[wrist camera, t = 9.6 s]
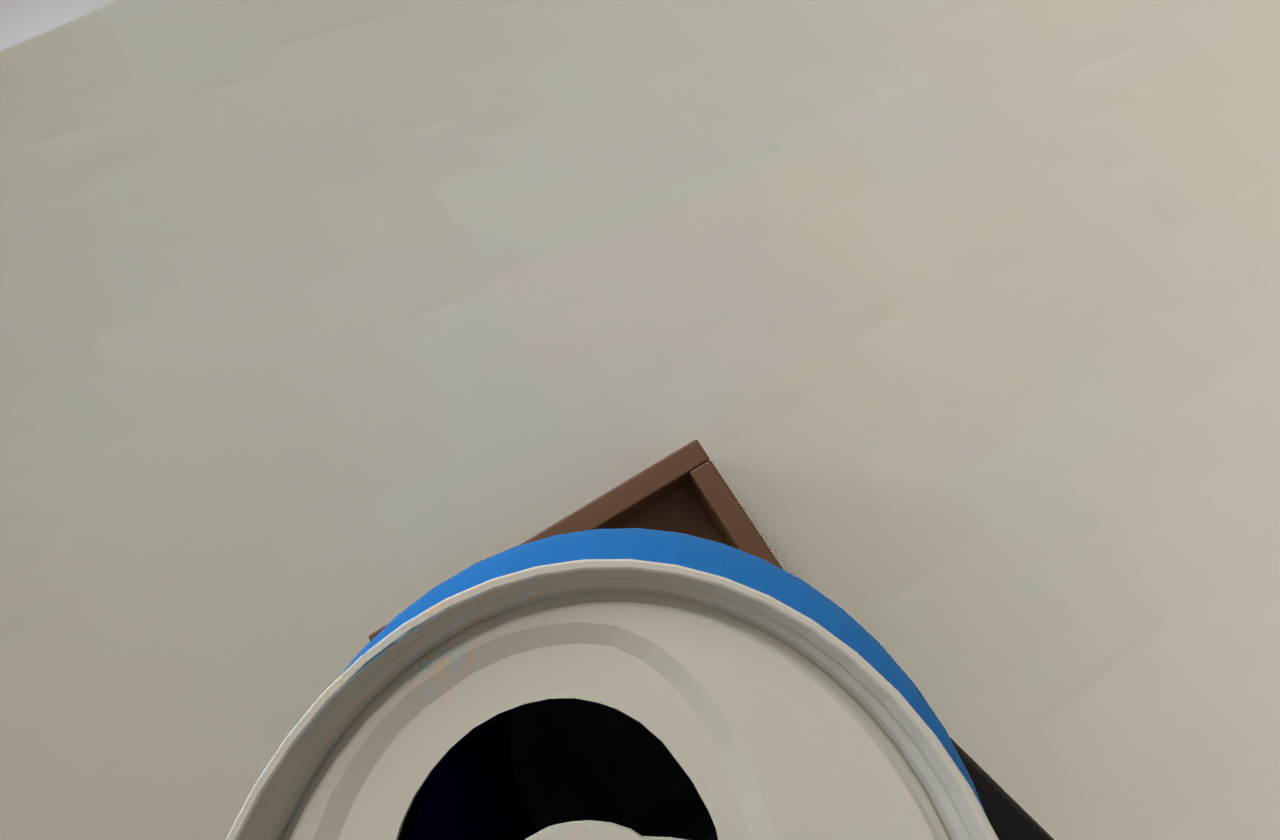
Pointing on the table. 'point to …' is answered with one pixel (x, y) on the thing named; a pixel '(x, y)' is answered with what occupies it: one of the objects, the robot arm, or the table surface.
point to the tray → (670, 506)
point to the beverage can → (619, 712)
